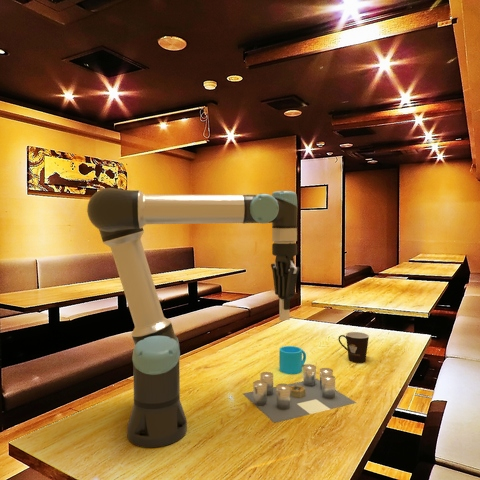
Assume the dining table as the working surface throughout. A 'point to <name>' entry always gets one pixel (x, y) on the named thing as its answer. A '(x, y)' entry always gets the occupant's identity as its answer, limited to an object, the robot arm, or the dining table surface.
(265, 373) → the spacers
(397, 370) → the dining table surface
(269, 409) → the mat
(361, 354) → the coffee mug
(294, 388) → the nut
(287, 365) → the mug
